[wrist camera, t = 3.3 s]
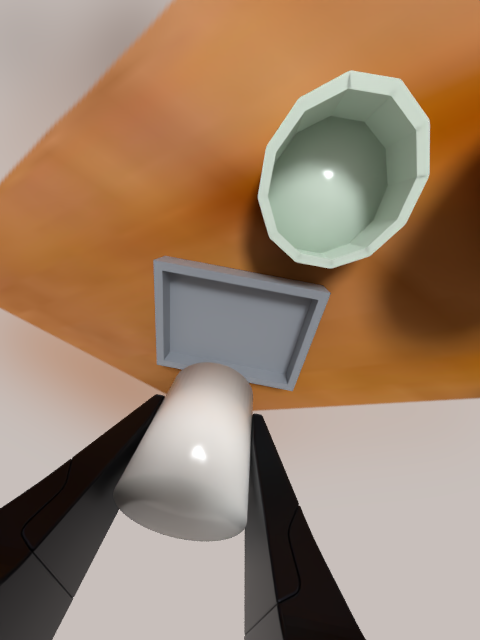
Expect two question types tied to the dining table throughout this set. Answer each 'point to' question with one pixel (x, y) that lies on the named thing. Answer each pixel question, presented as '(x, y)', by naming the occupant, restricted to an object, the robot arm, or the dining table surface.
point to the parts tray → (235, 320)
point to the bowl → (344, 169)
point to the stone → (194, 458)
